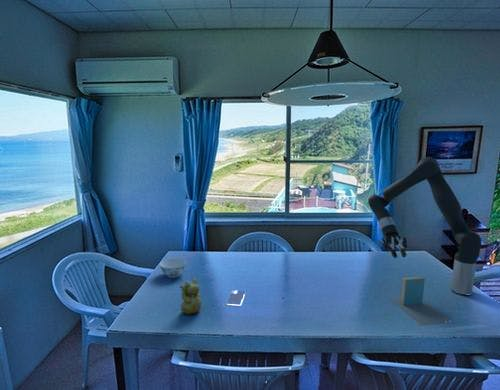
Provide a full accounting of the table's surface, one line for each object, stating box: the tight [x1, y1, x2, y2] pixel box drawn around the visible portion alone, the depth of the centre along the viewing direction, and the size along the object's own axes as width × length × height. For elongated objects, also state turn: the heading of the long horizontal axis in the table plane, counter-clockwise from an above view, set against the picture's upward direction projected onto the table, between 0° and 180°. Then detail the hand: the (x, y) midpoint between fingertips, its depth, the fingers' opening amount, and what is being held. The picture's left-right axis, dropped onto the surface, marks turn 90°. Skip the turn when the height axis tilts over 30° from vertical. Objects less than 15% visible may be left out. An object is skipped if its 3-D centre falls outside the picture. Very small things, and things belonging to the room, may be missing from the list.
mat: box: [390, 298, 454, 326], centre depth 142 cm, size 22×16×1 cm
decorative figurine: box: [179, 277, 202, 316], centre depth 140 cm, size 10×8×15 cm
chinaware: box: [159, 257, 187, 279], centre depth 179 cm, size 15×15×8 cm
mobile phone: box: [225, 289, 247, 307], centre depth 154 cm, size 8×1×15 cm
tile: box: [400, 276, 426, 305], centre depth 147 cm, size 2×10×13 cm, turn 100°
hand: (400, 256), depth 156 cm, fingers open, 4 cm apart
